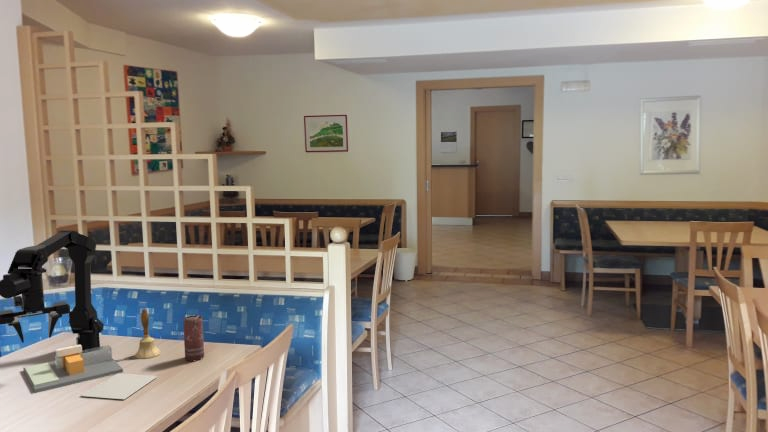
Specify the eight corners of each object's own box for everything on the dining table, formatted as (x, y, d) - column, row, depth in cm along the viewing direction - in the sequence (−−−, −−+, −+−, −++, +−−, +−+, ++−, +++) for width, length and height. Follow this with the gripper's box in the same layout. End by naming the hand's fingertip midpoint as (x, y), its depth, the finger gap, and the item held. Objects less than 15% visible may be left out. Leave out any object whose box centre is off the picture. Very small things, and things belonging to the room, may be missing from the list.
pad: (47, 363, 187) (47, 362, 187) (59, 380, 173) (59, 379, 173) (24, 368, 183) (24, 367, 183) (34, 385, 169) (34, 384, 169)
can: (208, 355, 195) (206, 315, 194) (196, 362, 189) (194, 320, 188) (193, 353, 197) (191, 314, 196) (181, 360, 191) (179, 319, 190)
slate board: (104, 353, 199) (104, 350, 199) (123, 371, 182) (122, 368, 182) (23, 370, 184) (23, 367, 183) (35, 392, 167) (35, 389, 167)
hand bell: (136, 360, 192) (133, 313, 190) (133, 353, 199) (130, 308, 197) (162, 356, 196) (160, 310, 194) (158, 348, 203) (156, 304, 201)
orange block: (74, 359, 190) (73, 348, 190) (84, 372, 179) (83, 359, 179) (60, 362, 187) (59, 350, 187) (69, 375, 177) (69, 362, 176)
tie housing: (109, 357, 192) (108, 344, 191) (112, 360, 189) (111, 347, 189) (55, 369, 182) (54, 356, 181) (57, 372, 179) (56, 358, 179)
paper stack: (186, 380, 176) (186, 378, 176) (137, 417, 151) (137, 415, 151) (117, 375, 180) (117, 373, 180) (58, 411, 155) (58, 408, 155)
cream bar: (80, 350, 185) (80, 344, 185) (82, 352, 184) (81, 346, 184) (56, 355, 181) (55, 349, 181) (57, 357, 180) (57, 351, 179)
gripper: (61, 280, 187) (65, 327, 188) (-8, 290, 175) (-4, 339, 177) (68, 286, 178) (72, 335, 180) (-4, 297, 166) (1, 349, 168)
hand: (36, 339), depth 176 cm, fingers open, 7 cm apart
